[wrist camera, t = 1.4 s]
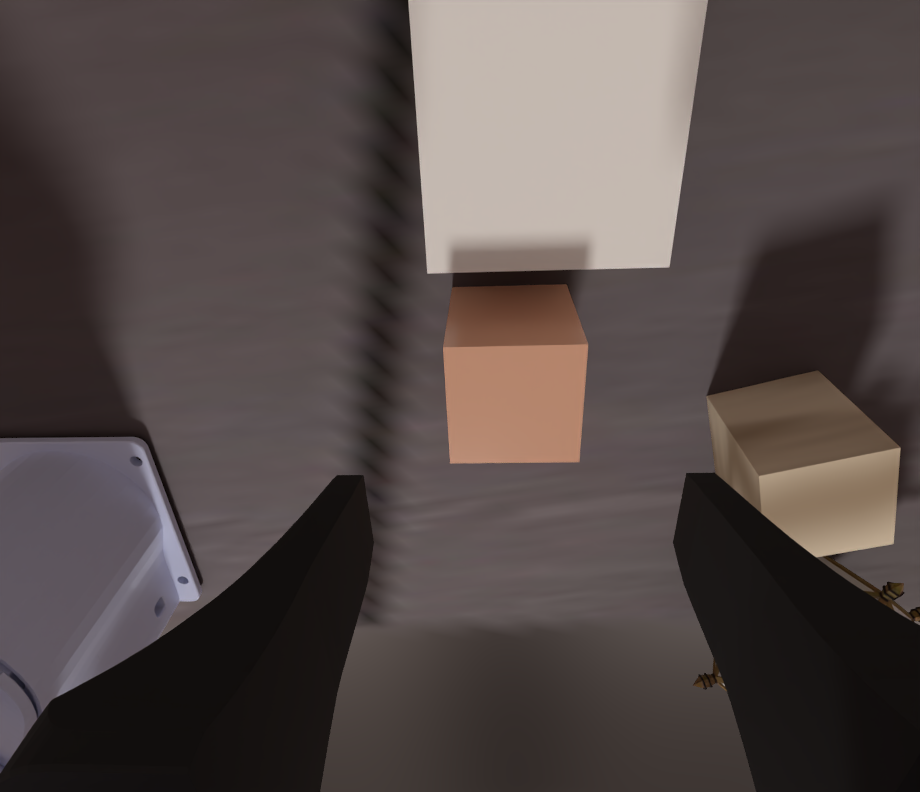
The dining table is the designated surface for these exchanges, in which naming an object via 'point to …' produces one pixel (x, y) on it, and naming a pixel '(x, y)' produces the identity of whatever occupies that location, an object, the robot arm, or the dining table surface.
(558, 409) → the terracotta block
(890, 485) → the maple block
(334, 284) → the dining table surface
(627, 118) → the slab
